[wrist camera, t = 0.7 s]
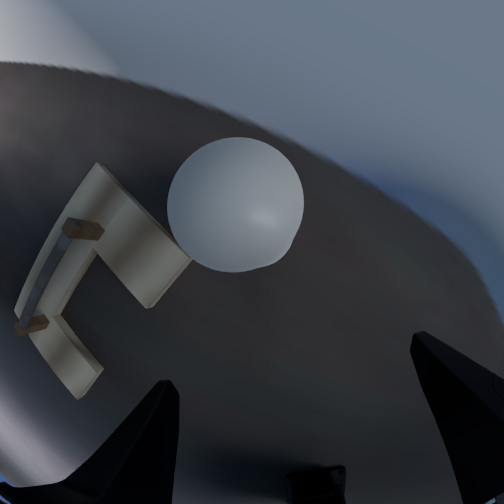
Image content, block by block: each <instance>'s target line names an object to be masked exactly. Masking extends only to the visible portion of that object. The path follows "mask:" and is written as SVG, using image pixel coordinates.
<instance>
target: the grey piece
mask: <svg viewBox="0 0 504 504" xmlns="http://www.w3.org/2000/svg"><path fill="white" fill-rule="evenodd" d="M97 254H99V256H100V257H101V258H102V259H103V261H104V262H105V263H106V264H107V265H108V267H109V268H110V269H111V270H112V271H113V273H114V274H115V275H116V276H117V277H118V278H119V280H120V281H121V282H122V283H123V284H124V285H125V286H126V288H127V289H128V290H129V291H130V292H131V293H132V294H133V295H134V296H135V298H136V299H137V300H138V301H139V302H140V303H141V304H142V305H143V306H144V307H145V308H146V309H148V308H151V307H153V306H154V305H155V304H156V303H157V302H158V300H159V299H160V298H161V297H162V296H163V294H164V293H165V292H166V291H167V290H168V288H169V287H170V286H171V285H172V284H173V282H174V281H175V280H176V279H177V278H178V276H179V275H180V274H181V273H182V272H183V270H184V269H185V268H186V267H187V266H188V265H189V263H190V262H191V261H192V260H193V259H192V258H191V257H190V256H189V255H187V254H186V253H185V252H184V250H183V249H182V248H181V247H180V246H179V244H178V243H177V241H176V240H175V239H174V238H173V237H172V236H171V235H170V234H169V233H168V232H167V231H166V230H165V229H164V228H163V227H162V226H161V225H160V224H159V223H158V222H157V221H156V220H155V219H154V218H153V216H152V215H151V214H150V213H149V212H148V211H147V210H146V209H145V208H144V207H143V206H142V205H141V204H140V203H139V202H138V201H137V200H136V199H135V198H134V197H133V196H132V195H131V194H130V193H129V192H128V191H127V190H126V189H125V188H124V186H123V185H122V184H121V183H120V182H119V181H118V180H117V179H116V178H115V177H114V176H113V175H112V174H111V173H110V172H109V170H108V169H107V168H106V167H105V166H103V165H101V164H99V163H97V162H96V163H95V165H94V166H93V167H92V169H91V170H90V171H89V173H88V174H87V176H86V177H85V178H84V180H83V181H82V183H81V184H80V186H79V187H78V188H77V190H76V191H75V193H74V194H73V196H72V198H71V199H70V201H69V202H68V204H67V205H66V207H65V209H64V210H63V212H62V213H61V215H60V217H59V218H58V220H57V222H56V223H55V225H54V227H53V229H52V230H51V232H50V234H49V236H48V238H47V239H46V241H45V243H44V245H43V247H42V249H41V251H40V253H39V255H38V257H37V259H36V261H35V263H34V265H33V267H32V269H31V271H30V273H29V275H28V278H27V280H26V282H25V284H24V287H23V289H22V291H21V294H20V296H19V299H18V301H17V304H16V306H15V309H14V311H15V313H16V315H17V317H18V318H19V320H16V323H15V326H14V328H15V330H16V332H17V334H18V335H19V336H23V335H26V334H28V335H29V337H30V338H31V340H32V341H33V343H34V344H35V346H36V347H37V349H38V350H39V352H40V353H41V354H42V356H43V357H44V359H45V360H46V362H47V363H48V364H49V366H50V367H51V368H52V370H53V371H54V372H55V374H56V375H57V376H58V377H59V379H60V380H61V381H62V382H63V384H64V385H65V386H66V387H67V389H68V390H69V391H70V392H71V393H72V394H73V396H74V397H75V398H76V399H77V400H78V399H80V398H81V397H83V396H84V395H85V394H86V392H87V391H88V390H89V388H90V387H91V386H92V384H93V383H94V382H95V380H96V379H97V378H98V376H99V375H100V374H101V372H102V371H103V370H104V368H103V367H102V366H101V364H100V363H99V362H98V361H97V360H96V359H95V358H94V356H93V355H92V354H91V353H90V352H89V350H88V349H87V348H86V347H85V346H84V344H83V343H82V342H81V341H80V339H79V338H78V337H77V336H76V334H75V333H74V332H73V330H72V329H71V328H70V326H69V325H68V324H67V322H66V321H65V320H64V318H63V317H62V316H61V312H62V311H63V309H64V307H65V305H66V304H67V302H68V300H69V298H70V297H71V295H72V293H73V292H74V290H75V288H76V287H77V285H78V283H79V282H80V280H81V279H82V277H83V275H84V274H85V272H86V271H87V269H88V267H89V266H90V264H91V263H92V261H93V260H94V258H95V257H96V255H97Z"/></svg>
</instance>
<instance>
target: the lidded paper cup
mask: <svg viewBox="0 0 504 504" xmlns="http://www.w3.org/2000/svg"><path fill="white" fill-rule="evenodd" d="M303 206H304V198H303V190H302V186H301V182H300V180H299V177H298V175H297V173H296V171H295V169H294V167H293V166H292V165H291V163H290V162H289V161H288V159H287V158H286V157H285V156H284V155H283V154H282V153H280V152H279V151H278V150H276V149H275V148H273V147H272V146H270V145H268V144H266V143H264V142H261V141H258V140H254V139H251V138H243V137H233V138H225V139H221V140H217V141H214V142H212V143H209V144H207V145H205V146H203V147H201V148H200V149H198V150H197V151H196V152H194V153H193V154H192V155H191V156H190V157H188V158H187V159H186V161H185V162H184V163H183V164H182V165H181V167H180V168H179V170H178V171H177V173H176V175H175V177H174V179H173V181H172V184H171V186H170V190H169V194H168V201H167V214H168V221H169V225H170V228H171V231H172V233H173V235H174V238H175V239H176V241H177V243H178V244H179V246H180V247H181V248H182V249H183V250H184V252H185V253H186V254H187V255H189V256H190V257H191V258H192V259H193V260H195V261H196V262H198V263H199V264H201V265H203V266H205V267H208V268H211V269H213V270H217V271H222V272H244V271H249V270H253V269H256V268H259V267H264V266H268V265H270V264H273V263H275V262H276V261H278V260H279V259H280V258H282V257H283V256H284V255H285V253H286V252H287V251H288V249H289V248H290V246H291V244H292V241H293V238H294V237H295V235H296V233H297V231H298V228H299V226H300V223H301V219H302V215H303Z"/></svg>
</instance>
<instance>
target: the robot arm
mask: <svg viewBox="0 0 504 504" xmlns="http://www.w3.org/2000/svg"><path fill="white" fill-rule="evenodd" d="M410 353H411V357H412V360H413V363H414V366H415V369H416V372H417V375H418V378H419V381H420V384H421V387H422V389H423V392H424V394H425V397H426V399H427V401H428V403H429V406H430V408H431V411H432V413H433V415H434V418H435V420H436V423H437V425H438V428H439V430H440V433H441V436H442V438H443V441H444V444H445V446H446V449H447V452H448V455H449V458H450V461H451V464H452V467H453V470H454V473H455V477H456V480H457V483H458V486H459V490H460V493H461V497H462V501H463V504H484V503H486V502H488V501H490V500H491V499H493V498H495V500H496V502H495V503H493V504H504V379H503V378H501V377H500V376H498V375H497V374H495V373H492V372H491V371H490V370H488V369H487V368H485V367H483V366H482V365H480V364H479V363H477V362H475V361H474V360H472V359H470V358H469V357H467V356H465V355H464V354H462V353H460V352H459V351H457V350H456V349H454V348H452V347H451V346H449V345H447V344H446V343H444V342H442V341H441V340H439V339H437V338H436V337H434V336H432V335H430V334H429V333H427V332H425V331H420V332H417V333H415V334H414V335H413V338H412V343H411V347H410ZM179 400H180V397H179V393H178V391H177V390H176V388H175V387H174V385H173V384H172V382H171V381H170V380H159V381H158V382H157V383H156V384H155V386H154V387H153V388H152V389H151V390H150V391H149V392H148V394H147V395H146V396H145V397H144V398H143V399H142V400H141V402H140V403H139V404H138V405H137V406H136V407H135V408H134V409H133V411H132V412H131V413H130V414H129V415H128V416H127V417H126V419H125V420H124V421H123V422H122V423H121V424H120V425H119V426H118V428H117V429H116V430H115V431H114V432H113V433H112V434H111V435H110V436H109V438H108V439H107V440H106V441H105V442H104V443H103V444H102V445H101V446H100V448H99V449H98V450H97V451H96V452H95V453H94V454H93V455H92V456H91V457H90V458H89V459H88V460H87V461H85V462H84V463H83V464H82V465H81V466H80V467H79V468H78V469H76V470H75V471H74V472H73V473H72V474H71V475H70V476H68V477H67V478H66V479H64V480H63V481H60V482H58V483H53V484H47V485H40V486H31V487H20V488H18V487H12V486H11V485H9V484H8V483H6V482H0V495H1V496H2V497H3V498H5V499H6V500H7V501H9V502H10V503H11V504H172V493H173V482H174V472H175V463H176V454H177V445H178V437H179ZM341 470H342V471H341ZM345 480H346V468H345V467H337V468H331V469H325V470H319V471H312V472H304V473H295V474H288V475H287V476H286V484H287V492H288V500H289V504H346V501H345V497H344V492H345ZM0 504H7V503H5V502H3V501H2V500H0Z"/></svg>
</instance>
